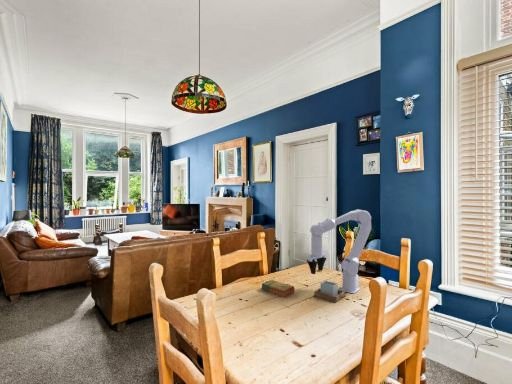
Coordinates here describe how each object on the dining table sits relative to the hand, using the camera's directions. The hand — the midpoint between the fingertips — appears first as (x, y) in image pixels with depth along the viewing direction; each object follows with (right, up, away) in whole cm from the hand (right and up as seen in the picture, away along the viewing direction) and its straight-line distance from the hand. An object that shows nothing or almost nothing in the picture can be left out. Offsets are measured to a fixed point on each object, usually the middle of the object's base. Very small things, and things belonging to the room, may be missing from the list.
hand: (316, 272), depth 147 cm
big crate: (+5, -10, -8) cm, 14 cm away
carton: (-21, -11, -1) cm, 24 cm away
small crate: (+4, -9, -8) cm, 13 cm away
